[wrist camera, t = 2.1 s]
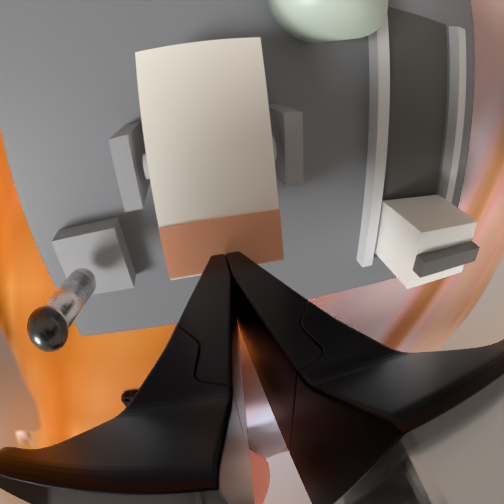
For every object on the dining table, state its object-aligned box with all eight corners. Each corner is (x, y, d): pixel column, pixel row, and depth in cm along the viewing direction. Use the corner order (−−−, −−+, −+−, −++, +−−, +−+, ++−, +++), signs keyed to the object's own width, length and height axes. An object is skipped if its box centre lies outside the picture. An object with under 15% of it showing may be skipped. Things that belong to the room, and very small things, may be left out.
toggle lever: (110, 290, 12) (62, 365, 8) (82, 287, 12) (33, 355, 9) (98, 258, 11) (39, 333, 7) (69, 257, 11) (12, 324, 8)
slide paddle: (428, 240, 16) (468, 278, 13) (374, 252, 16) (413, 296, 12) (438, 194, 14) (485, 227, 11) (382, 200, 14) (430, 240, 11)
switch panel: (425, 249, 20) (467, 289, 16) (88, 312, 17) (73, 375, 13) (445, -8, 10) (506, -9, 6) (10, 5, 7) (-46, -7, 3)
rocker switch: (279, 247, 11) (290, 260, 10) (166, 266, 10) (164, 282, 9) (258, 48, 8) (267, 36, 7) (135, 63, 8) (127, 53, 7)
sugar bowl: (165, 470, 33) (174, 534, 25) (167, 432, 26) (178, 523, 18) (250, 466, 37) (266, 526, 28) (280, 427, 30) (306, 507, 22)
